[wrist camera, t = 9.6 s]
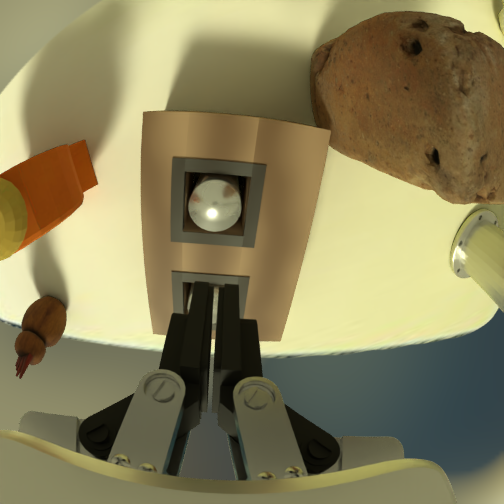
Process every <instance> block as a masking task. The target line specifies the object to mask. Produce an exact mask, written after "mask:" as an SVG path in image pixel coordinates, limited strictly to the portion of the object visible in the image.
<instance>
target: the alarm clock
mask: <svg viewBox="0 0 504 504" xmlns="http://www.w3.org/2000/svg"><path fill="white" fill-rule="evenodd" d="M97 184H98V183H97V180H96V176H95V173H94V170H93V167H92V163H91V160H90V156H89V153H88V149H87V145H86V142H85V140H82V141H80V142H77V143H74V144H72V145H69V146H68V145H67V144H65V145H62V146H59V147H55V148H53V149H50V150H48V151H45V152H43V153H41V154H38V155H36V156H34V157H32V158H30V159H28V160H26V161H24V162H22V163H20V164H18V165H16V166H14V167H12V168H10V169H9V170H7V171H5V172H4V173H2V174H0V261H1V260H4V259H6V258H8V257H10V256H11V255H12V254H14V253H16V252H17V251H19V250H21V249H23V248H24V247H26V246H27V245H29V244H30V243H32V242H34V241H35V240H37V239H38V238H40V237H41V236H43V235H44V234H46V233H47V232H49V231H50V230H51V229H53V228H54V227H56V226H57V225H59V224H60V223H61V222H63V221H64V220H65V219H66V218H68V217H69V216H70V215H71V214H72V213H73V212H74V211H75V210H76V209H77V208H78V207H80V206H81V205H82V203H83V198H84V194H83V192H85V191H87V190H88V189H90V188H92V187H94V186H96V185H97Z"/></svg>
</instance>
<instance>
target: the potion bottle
mask: <svg viewBox="0 0 504 504" xmlns="http://www.w3.org/2000/svg"><path fill="white" fill-rule="evenodd" d="M501 1H502V4H503V6H504V0H501ZM498 18H499V23H500V29H501V31H502V33H503V35H504V7H503V9H502V10H501V11H500V13H499V14H498Z"/></svg>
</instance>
